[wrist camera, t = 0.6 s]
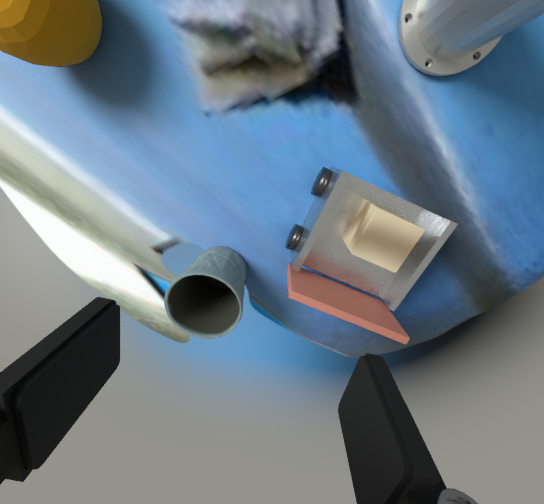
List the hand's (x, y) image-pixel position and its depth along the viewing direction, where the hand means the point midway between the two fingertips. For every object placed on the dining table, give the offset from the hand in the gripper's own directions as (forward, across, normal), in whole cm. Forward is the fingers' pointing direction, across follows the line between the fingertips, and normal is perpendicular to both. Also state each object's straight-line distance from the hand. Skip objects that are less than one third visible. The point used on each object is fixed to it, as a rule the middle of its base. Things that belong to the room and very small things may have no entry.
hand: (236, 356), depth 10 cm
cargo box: (+27, -14, -1) cm, 31 cm away
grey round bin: (+33, +6, +13) cm, 36 cm away
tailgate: (+28, -12, +10) cm, 32 cm away
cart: (+32, -14, +1) cm, 35 cm away
